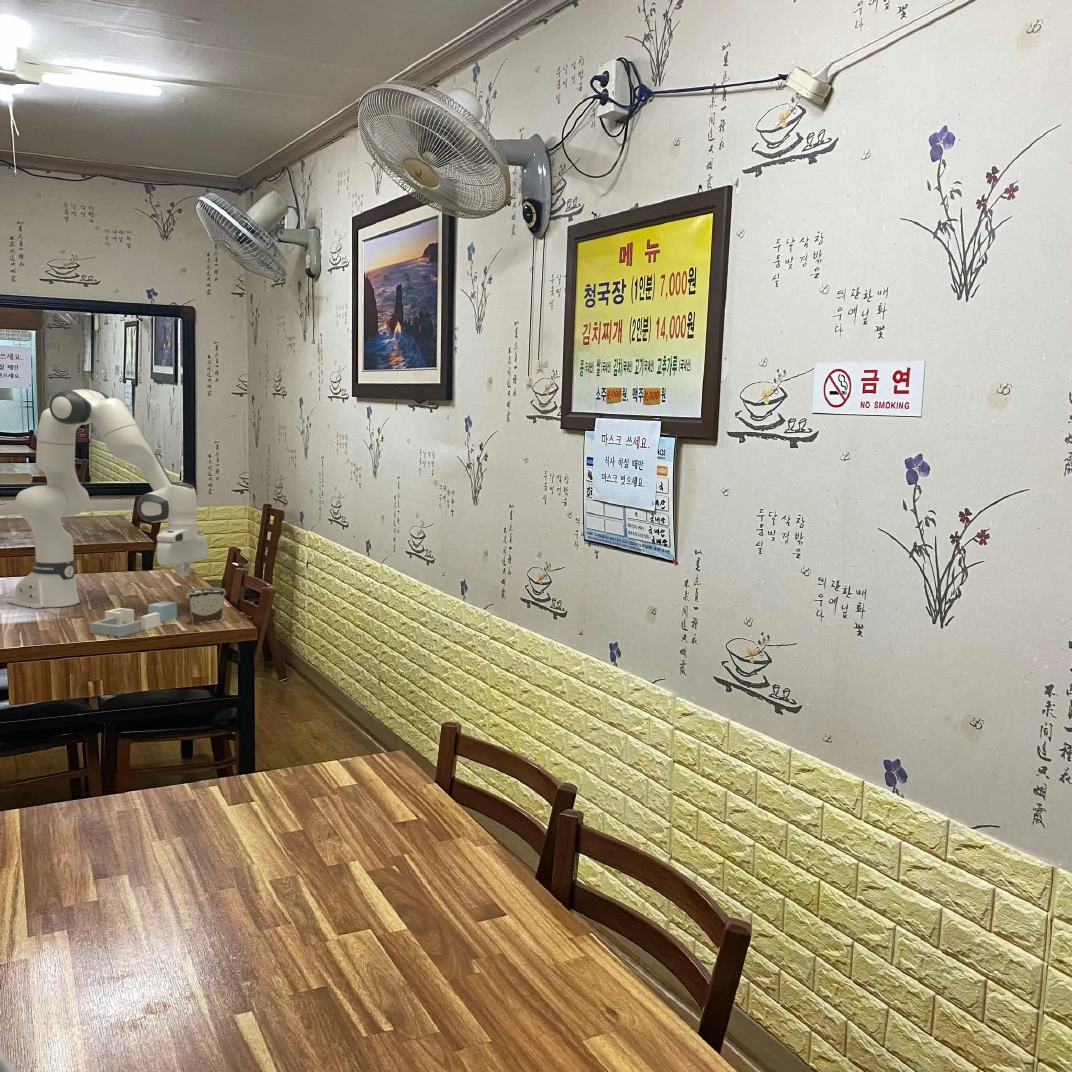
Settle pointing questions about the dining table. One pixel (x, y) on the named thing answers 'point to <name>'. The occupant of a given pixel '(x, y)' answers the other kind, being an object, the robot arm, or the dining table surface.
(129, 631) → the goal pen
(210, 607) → the food container
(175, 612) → the block
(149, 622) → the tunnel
